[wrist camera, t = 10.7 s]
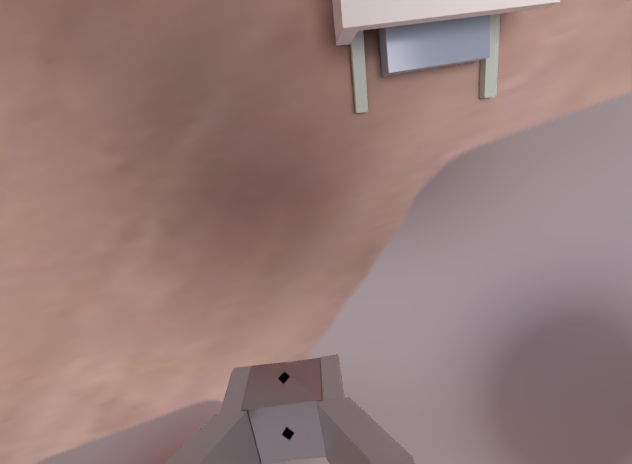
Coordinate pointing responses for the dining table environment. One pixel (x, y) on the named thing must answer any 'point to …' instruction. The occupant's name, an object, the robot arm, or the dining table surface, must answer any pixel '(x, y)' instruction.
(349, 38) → the shelf
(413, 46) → the slab
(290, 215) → the dining table surface
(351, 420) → the robot arm
